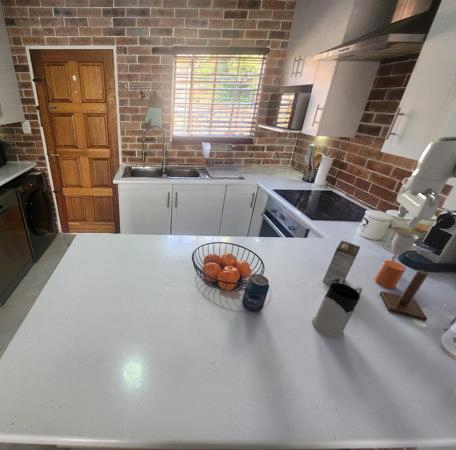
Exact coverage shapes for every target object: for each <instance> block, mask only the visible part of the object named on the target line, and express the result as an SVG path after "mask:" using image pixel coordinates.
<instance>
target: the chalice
mask: <svg viewBox="0 0 456 450" xmlns="http://www.w3.org/2000/svg"><path fill="white" fill-rule="evenodd" d="M418 239H419V236H417V235H416V234H414V233H412V232H409V231H405V230H399V229H398V230H395V235H394V236H393V239H392V240H391V251H392V253H393V255H392V256H391V259H389V260H388V261H394V262H395V259H397V256H399V255H400V256H401V255H402V254H404V253H406V252H407V251H409V250H410V249H411V248H412V247H413V245H414V243H415V242H416V240H418ZM381 267H382V265H381V266H379V269H380V268H381Z"/></svg>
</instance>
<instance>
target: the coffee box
mask: <svg viewBox="0 0 456 450" xmlns="http://www.w3.org/2000/svg"><path fill="white" fill-rule="evenodd" d="M360 249H361V246H359V245H357V244H354V243H351V242H348V241H346V240H340V241H339V244H338V245H337V247H336V249H335V252H334V254H333V256H332V259H331V261H330V263H329V265H328V268H327V270H326V272H325V275H324V277H323V279H322V283H325V284H327V285H329V286H330V285H331V284H332V283H341V284H344V282H345V281H346V279H347V276H348V275H349V272H350V270H351V268H352V267H353V264H354V262H355V260H356V258H357V257H358V254H359V251H360Z"/></svg>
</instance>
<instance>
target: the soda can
mask: <svg viewBox="0 0 456 450" xmlns="http://www.w3.org/2000/svg"><path fill="white" fill-rule="evenodd" d="M269 289H270V284H269V279H268V278H267V277H265V276H264V275H262V274H258V273H254V274H251V275H250V276H249V278H247V281H246V284H245V287H244V292H243V296H242V300H241V302H242V305H243V307H244V309H245V310H246V311H248V312H250V313H255V314H256V313H259V312H261V311H262V310H263V308H264V305H265V303H266V299H267V295H268V293H269Z"/></svg>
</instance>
